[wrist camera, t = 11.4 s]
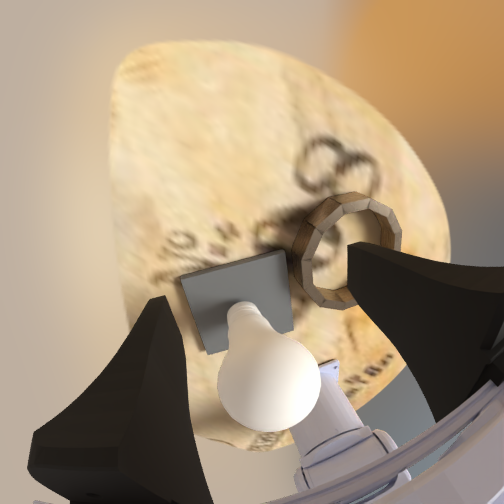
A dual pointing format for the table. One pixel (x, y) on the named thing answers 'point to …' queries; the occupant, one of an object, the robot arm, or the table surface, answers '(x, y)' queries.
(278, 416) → the lightbulb
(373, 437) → the robot arm
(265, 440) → the table surface
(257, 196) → the table surface
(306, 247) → the collar
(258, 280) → the mat
